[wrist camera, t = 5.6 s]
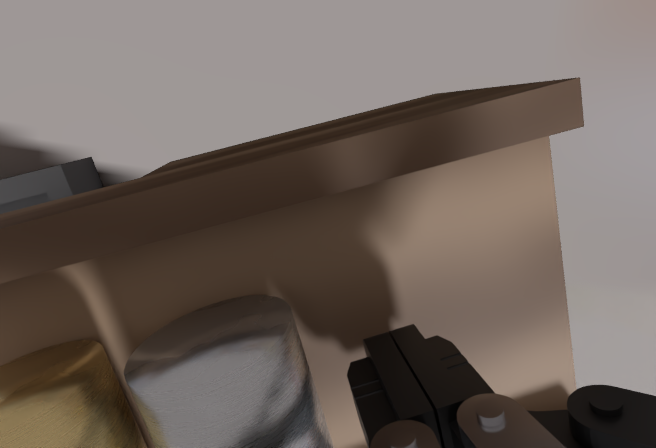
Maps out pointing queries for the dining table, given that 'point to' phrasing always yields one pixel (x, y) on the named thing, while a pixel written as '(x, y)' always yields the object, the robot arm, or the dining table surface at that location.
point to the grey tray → (48, 184)
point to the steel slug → (228, 380)
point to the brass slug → (65, 400)
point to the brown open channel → (325, 245)
